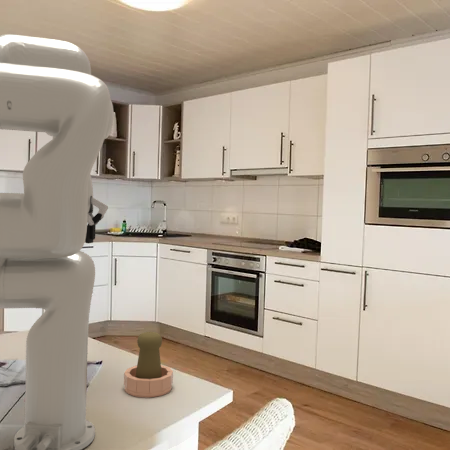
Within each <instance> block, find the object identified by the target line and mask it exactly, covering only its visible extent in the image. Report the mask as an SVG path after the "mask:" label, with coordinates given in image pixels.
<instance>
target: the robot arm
mask: <svg viewBox="0 0 450 450" xmlns="http://www.w3.org/2000/svg"><path fill="white" fill-rule="evenodd" d="M114 117H115V115H114V104H113V102H112V100H111V93H110V90H109V88H108V86H107V84H106V83H105V82H104V81H103V80H102V79H100V78H99V77H97V76H95V75H93V74H92V68H91V62H90V59H89V57H88V55H87V54H86V52H85V51H84V50H83V49H82V48H80V47H79V46H78V45H76V44H74V43H72V42H70V41H66V40H62V39H53V38H47V37H38V36H31V35H22V34H14V33H13V34H12V33H5V34H1V35H0V130H6V131H8V130H9V131H18V132H19V131H21V132H34V133H46V135H48V136H50V137H52V139H51V140H50V141H48V142H47V143H45V144H44V145H43V146H42V147H41V148H39V149H38V150H37V151H36V152H35V153H34V154H33V156H32V157H31V158H30V159H29V160H28V162H27V163H26V164H25V166H24V167H23V168H24V169H23V171H22V182H23V193H20V192H19V193H17V192H16V193H15V192H0V309H42V310H44V312H43V313H42V314H41V315H40V317H38V318H37V319H36V321H35V322H34V323H33V324H32V326H31V327H30V329H29V331H28V333H27V336H26V344H25V347H26V349H25V390H24V391H25V394H24V396H25V400H24V426H23V427H21V428H19V430H18V431H17V432H16V433H15V434H14V437H13V447H14V450H84V449H85V448H86V447H88V446H89V445H90V444H91V443H92V442H93V441H94V439H95V437H96V428H95V425H94V424H93V423H92V422H91V421H90V420H89V419H86V418H87V416H86V415H87V385H88V384H87V383H88V380H87V379H88V354H89V353H88V350H89V349H88V346H89V344H88V343H89V327H90V326H89V325H90V324H89V323H90V312H91V305H92V303H91V302H92V297H93V291H94V287H95V280H96V267H95V262H94V260H93V258H92V257H91V256H90V255H89V254H87V253H86V252H84V251H82V248H83V247H84V245H85V244H93V243H94V240H96V225H98V223H99V222H100V221H102V219H103V218H104V217H105V214H106V212H107V211H108V209H109V206H108V205H107V204H106V203H104V202H101V200H100V201H99V200H98V199H96V198H95V197H94V188H93V181H92V175H91V172H92V171H93V170H92V169H93V168H94V165H95V163H96V160H97V159H98V156H99V155H100V152H101V149H102V147H103V144H104V142H105V139H107V138H108V137H109V136H110V135H111V133H112V131H113V124H114ZM94 207H96V208H98V210H97V211H98V212H97V213H96V214H95V215H93V213H94Z"/></svg>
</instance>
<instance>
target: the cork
mask: <svg viewBox="0 0 450 450" xmlns="http://www.w3.org/2000/svg"><path fill="white" fill-rule="evenodd" d="M136 342H137V346H138V348H139V353H138V357H137V369H136V376H135V377H136V378H139V379H154V378H160V377H162V371H161V365H162V364H161V363H162V362H161V354H160V352H161V351H160V348H161V347H162V344H163V338H162V336H161V334H160V333H158V332H156V331H145V332H144V331H143V332H142V333H140V334H139V335H138V337H137V341H136Z"/></svg>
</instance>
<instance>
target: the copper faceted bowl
mask: <svg viewBox="0 0 450 450" xmlns="http://www.w3.org/2000/svg"><path fill="white" fill-rule="evenodd" d="M136 369H137V365H133V366H131V367H128V368H127V369H126V370H125V371H124V372H123V373H124V374H123V385H124V391H125V393H126V394H128V395H129V396H133V397H136V398H145V399H147V398H149V399H150V398H157V397H162V396H165V395H167V394H168V393H169V394H170V392H171V391H172V389H173V383H174V370H172V368H171V367H169V366H165V365H162V364H161V371H162V377H160V378H154V379H139V378H136V377H135V376H136Z"/></svg>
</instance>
